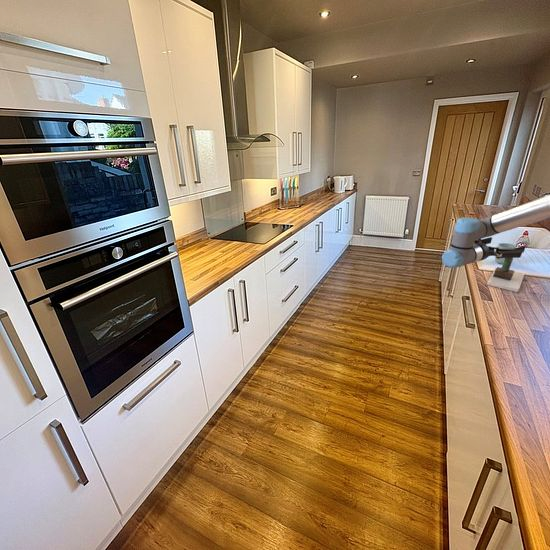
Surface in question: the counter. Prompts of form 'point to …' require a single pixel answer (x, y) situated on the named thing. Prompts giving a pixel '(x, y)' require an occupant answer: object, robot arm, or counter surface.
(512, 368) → the counter surface
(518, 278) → the tile
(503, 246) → the cup
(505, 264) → the brush
